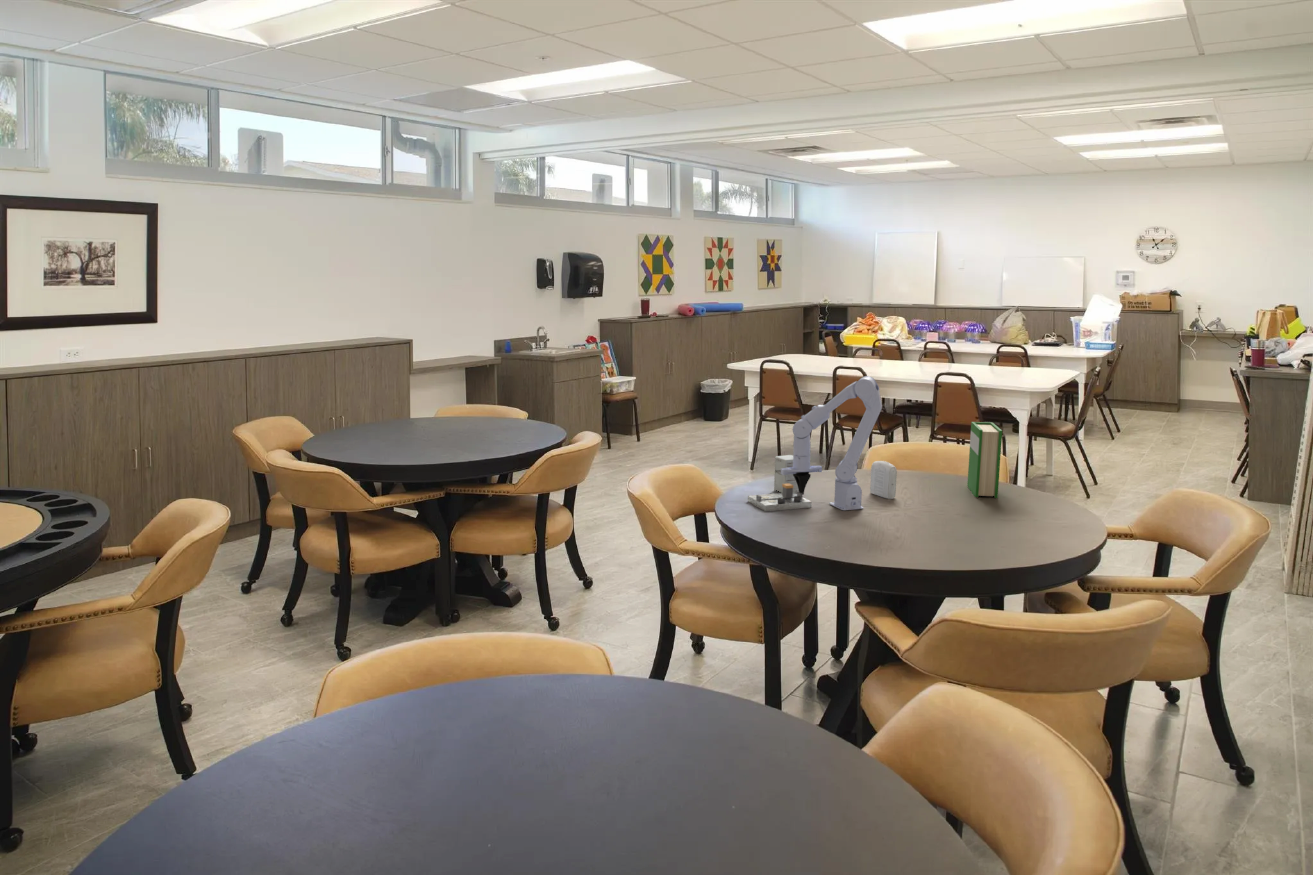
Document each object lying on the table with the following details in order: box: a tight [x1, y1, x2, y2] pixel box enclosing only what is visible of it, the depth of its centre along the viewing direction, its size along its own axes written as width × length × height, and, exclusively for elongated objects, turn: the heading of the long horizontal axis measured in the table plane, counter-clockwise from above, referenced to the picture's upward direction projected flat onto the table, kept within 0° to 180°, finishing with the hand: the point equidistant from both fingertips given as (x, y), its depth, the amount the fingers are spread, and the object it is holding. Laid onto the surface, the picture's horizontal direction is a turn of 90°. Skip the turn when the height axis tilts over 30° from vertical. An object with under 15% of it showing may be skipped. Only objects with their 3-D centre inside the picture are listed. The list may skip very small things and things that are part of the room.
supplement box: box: [773, 454, 799, 494], centre depth 333 cm, size 7×7×13 cm
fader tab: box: [782, 483, 793, 498], centre depth 316 cm, size 3×3×4 cm
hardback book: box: [966, 421, 1003, 499], centre depth 332 cm, size 18×7×24 cm, turn 171°
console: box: [747, 492, 813, 512], centre depth 316 cm, size 14×17×4 cm
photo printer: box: [869, 460, 898, 500], centre depth 327 cm, size 10×4×12 cm, turn 28°
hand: (801, 494), depth 318 cm, fingers closed, pressing on console
